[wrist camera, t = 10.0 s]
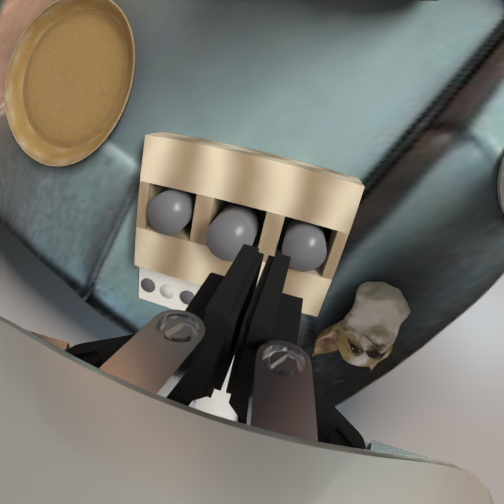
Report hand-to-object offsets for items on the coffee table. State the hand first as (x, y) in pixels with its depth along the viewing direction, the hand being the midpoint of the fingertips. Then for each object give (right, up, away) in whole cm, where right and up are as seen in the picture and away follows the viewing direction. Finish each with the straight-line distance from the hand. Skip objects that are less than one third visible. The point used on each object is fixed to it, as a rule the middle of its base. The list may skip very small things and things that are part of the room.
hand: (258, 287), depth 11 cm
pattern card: (-12, -4, +32) cm, 35 cm away
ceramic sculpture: (+15, -7, +29) cm, 34 cm away
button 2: (+6, +3, +26) cm, 26 cm away
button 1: (-9, +7, +26) cm, 29 cm away
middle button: (-2, +4, +24) cm, 25 cm away
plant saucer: (-24, +25, +22) cm, 41 cm away
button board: (-1, +5, +26) cm, 27 cm away
